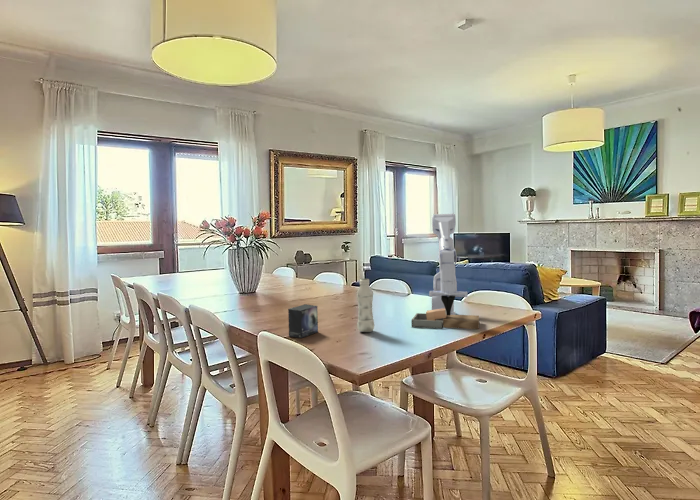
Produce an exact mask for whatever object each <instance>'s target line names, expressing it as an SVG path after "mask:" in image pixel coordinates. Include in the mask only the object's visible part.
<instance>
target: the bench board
mask: <svg viewBox="0 0 700 500" xmlns="http://www.w3.org/2000/svg"><path fill="white" fill-rule="evenodd" d="M479 327H480V315H474V314H473V315H472V314H471V315H470V314H467V315H466V314H455V315H447V317H446V318H444V319H443V326H442V328H444V329H445V328H446V329H447V328H448V329H463V330H464V329H467V330H479Z"/></svg>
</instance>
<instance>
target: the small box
mask: <svg viewBox="0 0 700 500" xmlns="http://www.w3.org/2000/svg"><path fill="white" fill-rule="evenodd" d="M287 312H288V337H290V338H297V339H302V338H306V337H308V336H311V335H314V334H316V333H319V327H318V326H319V324H318V323H319V320H318V316H319V314H318V305H314V304H306V303H305V304H301V305H297V306H294V307H290V308H288V311H287Z"/></svg>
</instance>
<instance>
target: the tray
mask: <svg viewBox="0 0 700 500" xmlns="http://www.w3.org/2000/svg"><path fill="white" fill-rule="evenodd" d="M443 319H444V318H440V319H436V321H432V320H427V317H426V312H424V313H420V312H416V313H415V315H414V316H413V318H411V328H421V329H423V328H424V329H442V328H443Z"/></svg>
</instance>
